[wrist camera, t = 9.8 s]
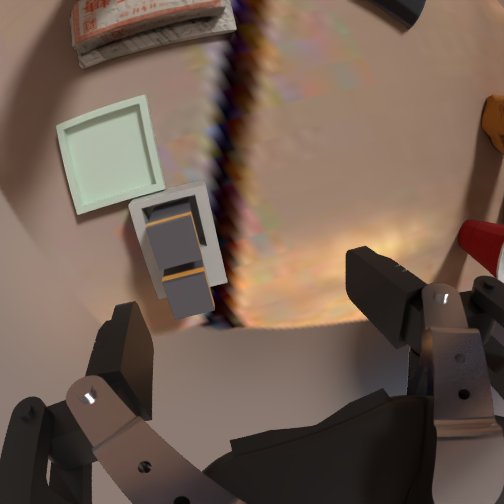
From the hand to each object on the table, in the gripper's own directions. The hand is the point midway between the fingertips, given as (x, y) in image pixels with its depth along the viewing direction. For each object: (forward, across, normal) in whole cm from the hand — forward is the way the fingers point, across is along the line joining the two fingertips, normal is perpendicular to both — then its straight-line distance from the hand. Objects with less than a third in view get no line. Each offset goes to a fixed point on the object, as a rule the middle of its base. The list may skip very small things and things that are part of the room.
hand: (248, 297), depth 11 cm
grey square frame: (+24, +4, +5) cm, 25 cm away
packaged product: (+25, +2, -22) cm, 33 cm away
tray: (+24, +9, -6) cm, 27 cm away
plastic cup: (+24, -46, +16) cm, 54 cm away
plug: (+23, +4, +3) cm, 23 cm away
